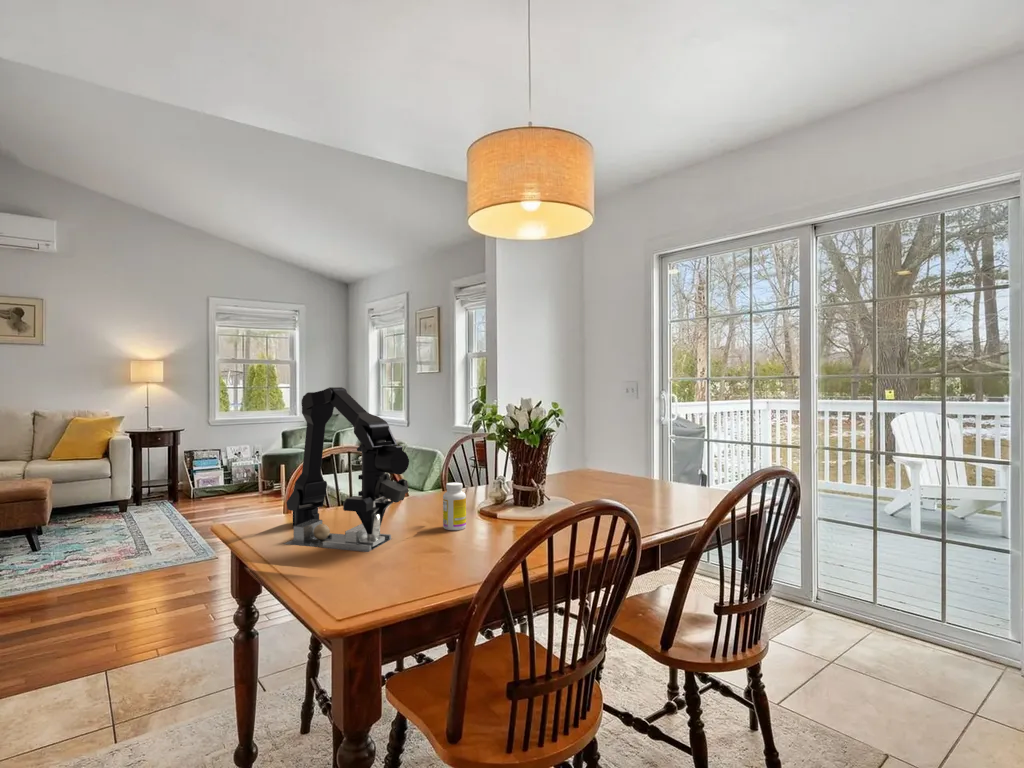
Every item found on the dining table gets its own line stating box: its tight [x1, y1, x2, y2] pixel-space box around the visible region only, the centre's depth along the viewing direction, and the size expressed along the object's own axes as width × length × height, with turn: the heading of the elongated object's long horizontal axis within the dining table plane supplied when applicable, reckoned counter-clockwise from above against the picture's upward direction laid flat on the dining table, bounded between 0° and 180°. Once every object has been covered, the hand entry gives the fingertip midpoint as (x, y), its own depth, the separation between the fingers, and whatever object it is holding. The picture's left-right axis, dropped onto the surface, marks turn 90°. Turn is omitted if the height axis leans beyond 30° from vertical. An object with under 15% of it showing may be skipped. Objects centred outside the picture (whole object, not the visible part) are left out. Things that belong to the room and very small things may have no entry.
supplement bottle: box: [442, 482, 467, 531], centre depth 166 cm, size 7×7×13 cm
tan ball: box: [313, 523, 331, 540], centre depth 149 cm, size 4×4×4 cm
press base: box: [283, 519, 392, 553], centre depth 147 cm, size 24×12×6 cm, turn 74°
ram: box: [344, 513, 385, 547], centre depth 145 cm, size 7×8×7 cm
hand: (373, 532), depth 145 cm, fingers closed on ram, 3 cm apart
